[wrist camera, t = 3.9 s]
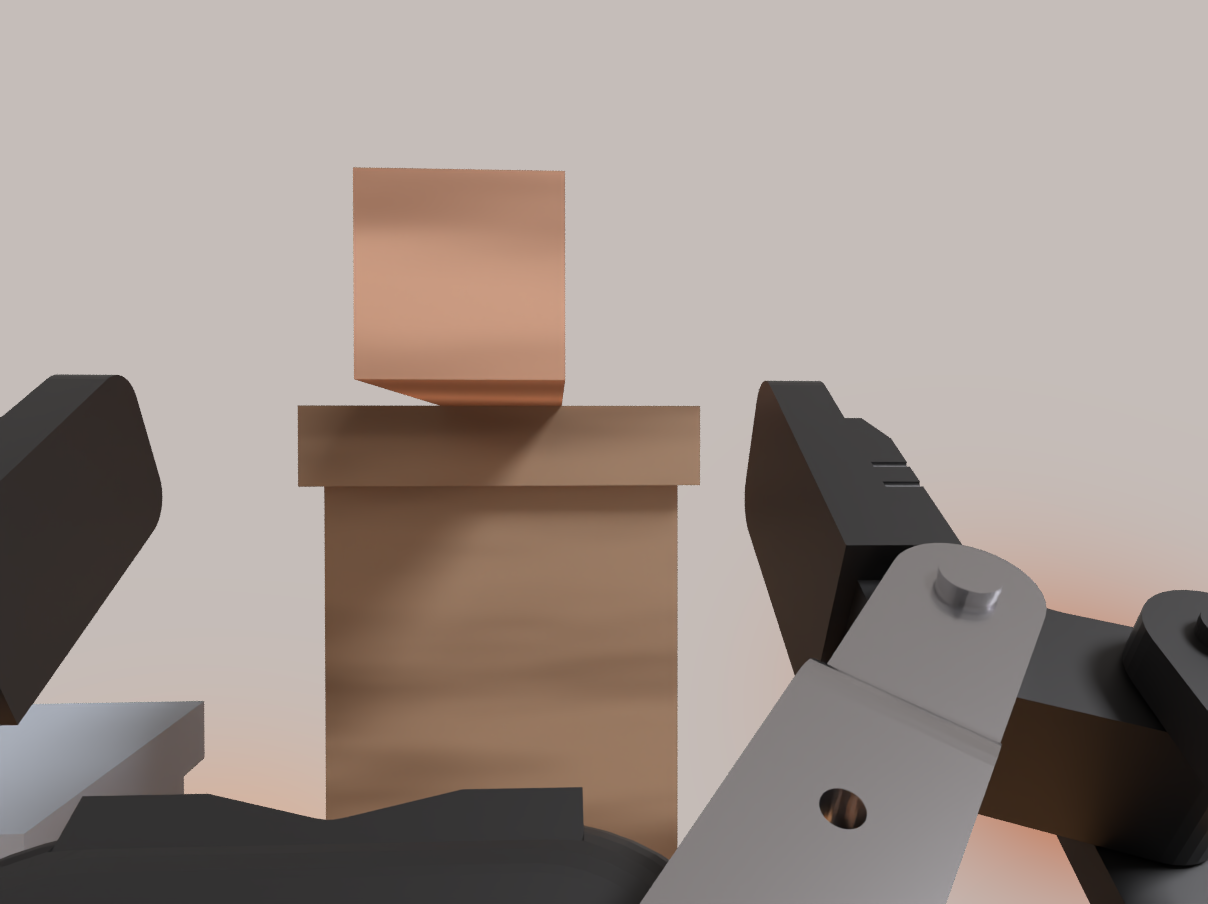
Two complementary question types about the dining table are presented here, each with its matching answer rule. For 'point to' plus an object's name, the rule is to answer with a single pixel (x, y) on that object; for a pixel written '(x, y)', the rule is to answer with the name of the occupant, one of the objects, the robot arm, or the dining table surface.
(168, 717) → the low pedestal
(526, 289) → the terracotta bar
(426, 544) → the tall pedestal
